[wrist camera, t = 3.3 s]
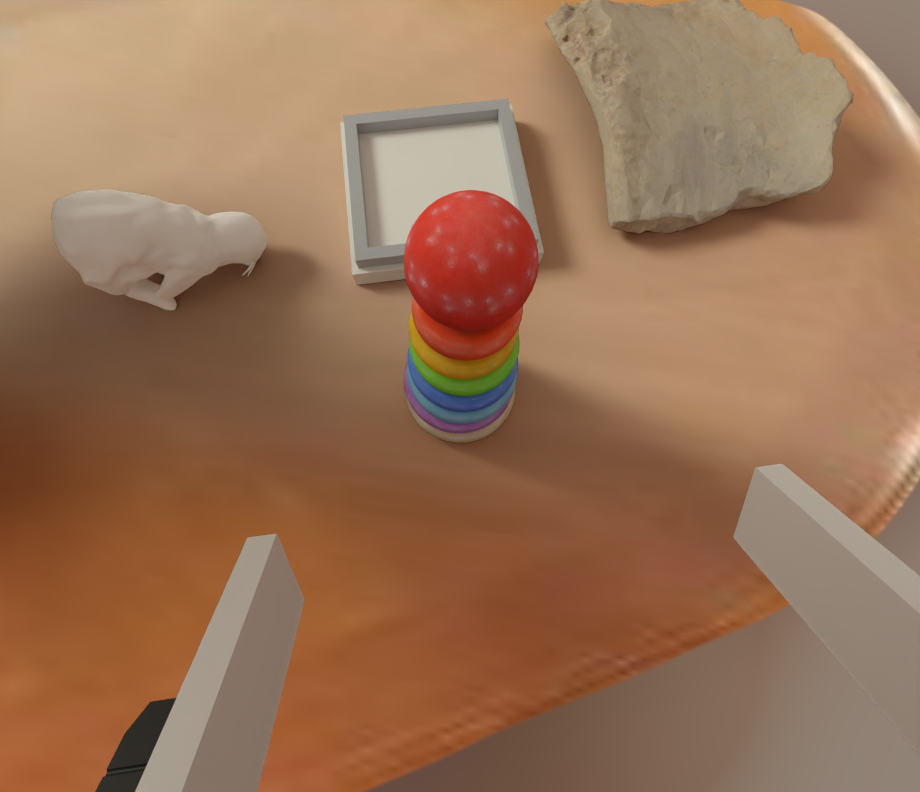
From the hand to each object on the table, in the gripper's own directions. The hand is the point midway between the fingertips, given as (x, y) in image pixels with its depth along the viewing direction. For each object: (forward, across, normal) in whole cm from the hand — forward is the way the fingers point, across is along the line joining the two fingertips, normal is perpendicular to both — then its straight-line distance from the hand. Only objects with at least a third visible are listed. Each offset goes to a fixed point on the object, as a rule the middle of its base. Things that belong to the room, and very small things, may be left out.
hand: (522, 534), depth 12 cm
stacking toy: (+20, 0, -6) cm, 20 cm away
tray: (+32, 0, +7) cm, 32 cm away
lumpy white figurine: (+29, -20, +3) cm, 35 cm away
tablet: (+36, +22, +10) cm, 44 cm away
